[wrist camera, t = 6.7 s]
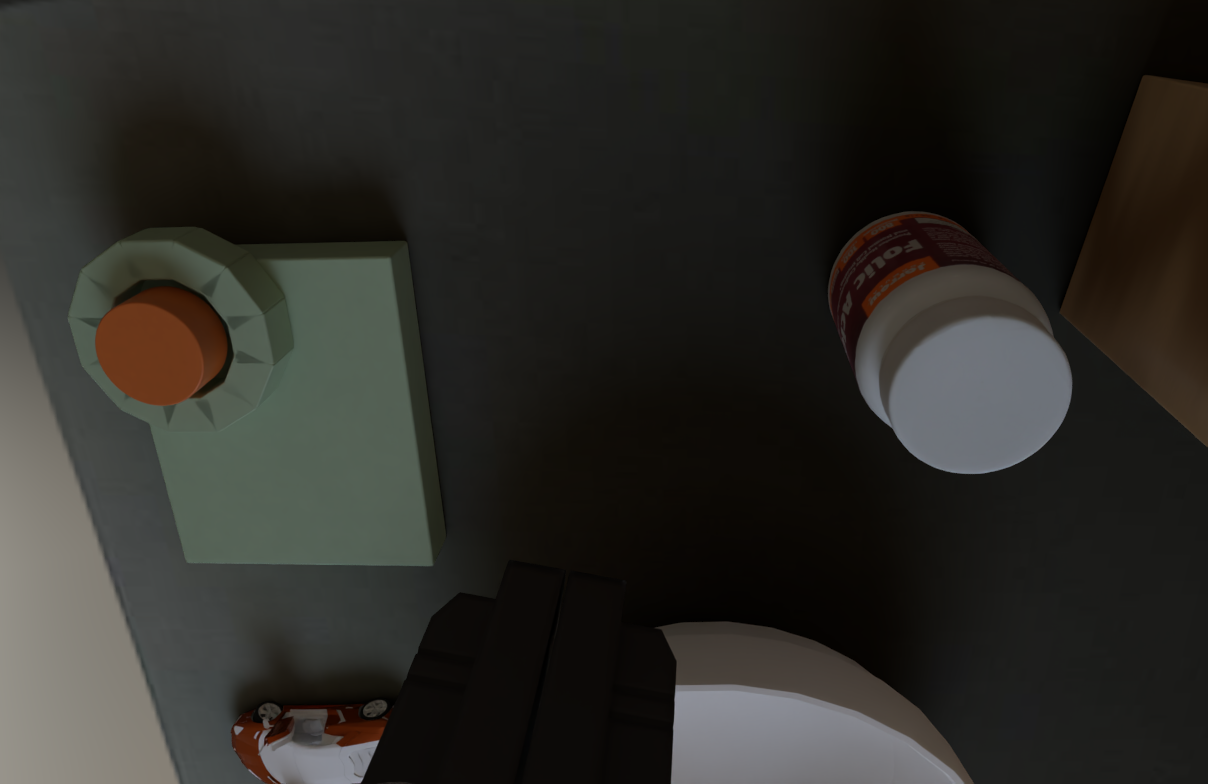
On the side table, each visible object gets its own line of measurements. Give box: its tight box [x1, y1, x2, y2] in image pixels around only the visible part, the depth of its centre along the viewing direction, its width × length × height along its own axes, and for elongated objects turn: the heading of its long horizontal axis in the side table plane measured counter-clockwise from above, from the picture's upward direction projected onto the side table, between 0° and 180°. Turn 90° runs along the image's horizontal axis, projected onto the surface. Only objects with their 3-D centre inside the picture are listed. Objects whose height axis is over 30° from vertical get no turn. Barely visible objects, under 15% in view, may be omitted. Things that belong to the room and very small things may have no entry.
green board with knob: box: [68, 227, 446, 566], centre depth 30 cm, size 12×10×4 cm
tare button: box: [95, 286, 228, 406], centre depth 27 cm, size 3×3×2 cm
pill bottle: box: [828, 211, 1072, 474], centre depth 25 cm, size 5×5×8 cm
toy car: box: [231, 698, 394, 784], centre depth 37 cm, size 5×8×3 cm, turn 95°
